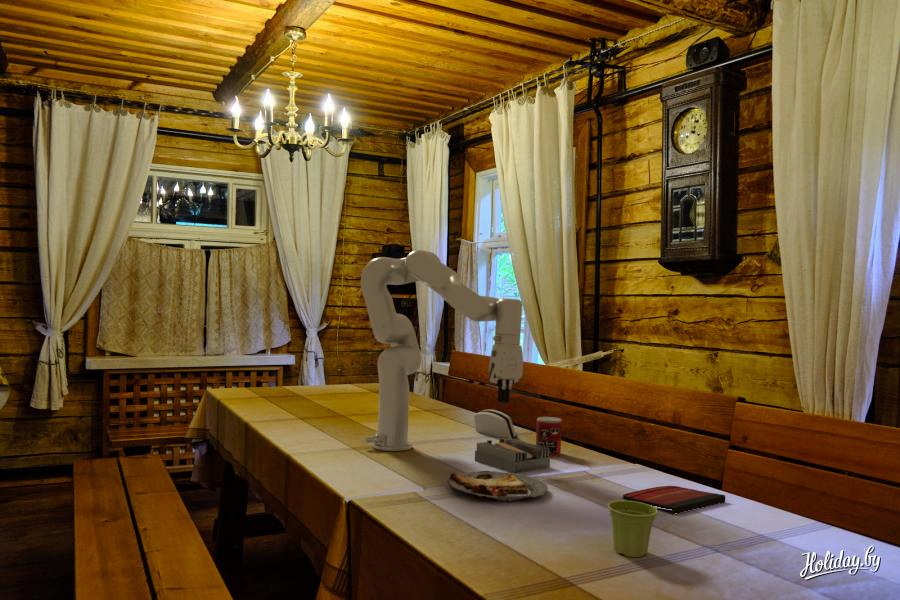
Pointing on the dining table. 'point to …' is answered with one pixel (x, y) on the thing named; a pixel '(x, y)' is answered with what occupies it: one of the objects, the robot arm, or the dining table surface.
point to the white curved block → (494, 424)
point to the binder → (675, 498)
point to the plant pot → (631, 526)
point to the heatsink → (513, 456)
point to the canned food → (549, 434)
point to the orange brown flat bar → (509, 447)
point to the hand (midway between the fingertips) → (503, 401)
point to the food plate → (497, 485)
